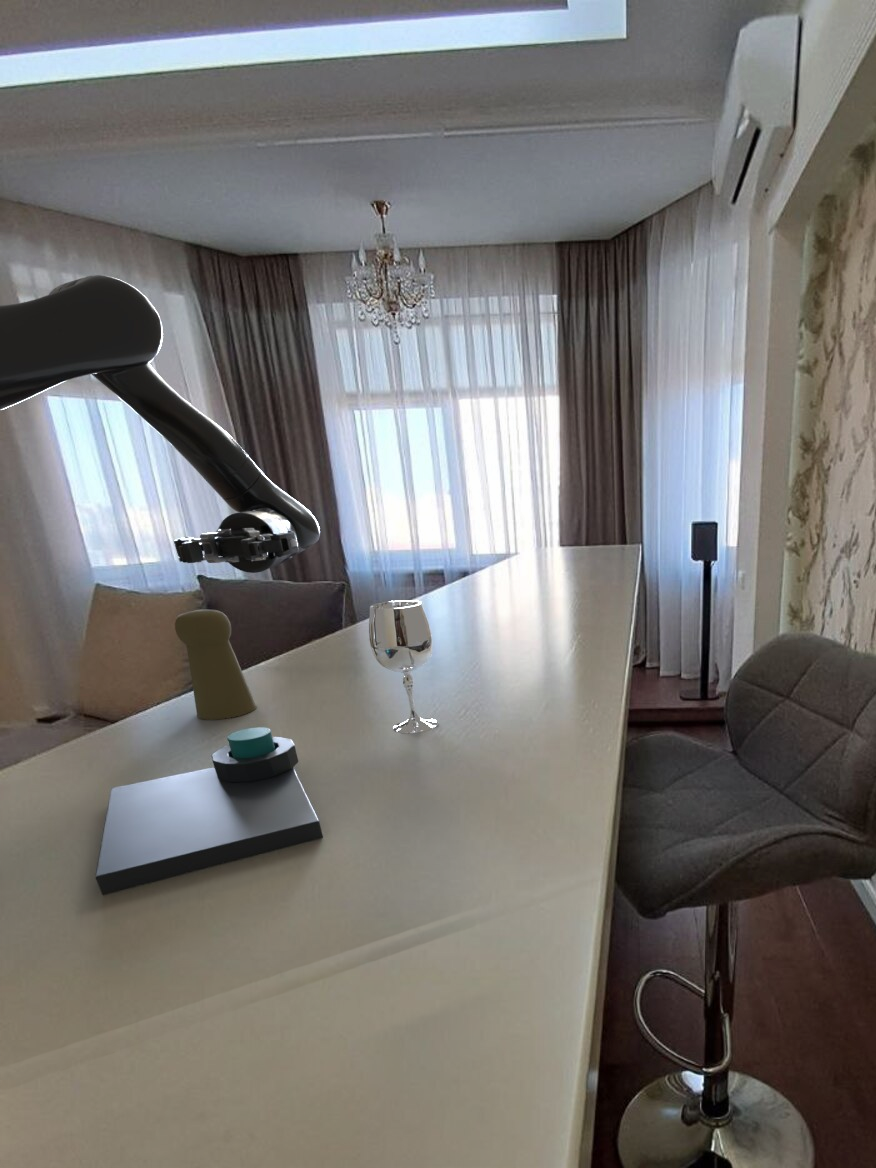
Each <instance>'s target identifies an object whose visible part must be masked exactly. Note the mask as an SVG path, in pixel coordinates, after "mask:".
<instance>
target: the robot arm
mask: <svg viewBox="0 0 876 1168" xmlns="http://www.w3.org/2000/svg"><path fill="white" fill-rule="evenodd" d="M163 331H164V330H163V324H162V320H161V317H160V315H159V313H158V311H157V309H156V308H155V306H154V305H153V303H152V302H151V301H150V300H149V299H148V298H147V296H146V295H144V293H143V292H141V291H140V290H139V289H138V288H136V287H135V286H133V285H131V284H130V283H128V282H126V281H124V280H122V279H119V278H116V277H112V276H109V275H101V274H94V275H87V276H85V277H81V278H78V279H74V280H71V281H68V282H65V283H62V284H59V285H58V286H56V287H55V288H53V289H52V290H51V291H50V292H49V293H48V294H47V295H44V296H41V297H39V298H35V299H32V300H28V301H23V302H19V303H13V304H4V305H0V411H2V410H5V409H7V408H9V407H12V406H14V405H17V404H19V403H21V402H24V401H26V400H28V399H30V398H32V397H34V396H37V395H39V394H41V393H43V392H45V391H47V390H49V389H51V388H53V387H56V386H58V385H60V384H62V383H64V382H67V381H70V380H73V379H77V378H80V377H84V376H90V375H91V376H93V377H94V378H95V379H96V380H98V381H99V382H100V383H101V384H102V385H104V386H105V387H106V388H107V389H108V390H109V391H111V392H112V393H113V394H114V395H116V396H117V397H118V398H119V399H120V400H121V401H122V402H124V403H125V404H126V406H128V407H129V408H130V409H132V410H133V411H134V412H135V413H136V414H137V415H138V416H139V417H141V418H142V420H144V421H145V422H146V423H147V424H148V425H149V426H150V427H151V428H153V429H154V430H155V431H156V432H157V433H158V434H159V435H160V436H162V437H163V438H164V440H166V441H167V442H168V443H169V444H170V445H171V447H173V448H174V449H175V450H176V451H177V452H178V453H179V454H180V455H181V456H182V457H183V458H184V459H185V460H186V461H187V462H188V464H190V465H191V466H192V467H193V468H194V469H195V470H196V472H197V473H198V474H199V476H201V477H202V478H203V479H204V481H206V483H207V484H208V485H209V486H210V487H211V488H212V489H213V490H214V491H215V492H216V494H217V495H218V496H219V497H220V498H221V499H222V500H223V501H224V502H225V503H226V504H227V505H228V506H229V507H230V508H231V509H232V510H233V511H235V513H231V514H229V515H227V516H226V517H224V519H223V520H222V521H221V522H220V523H219V525H218V527H217V530H216V531H215V532H207V533H200V535H199V538H196V537H192V536H188V535H186V536H184V537H181V538H176V539H174V540H173V543H174V547H175V550H176V554H177V557H178V561H179V562H180V563H181V562H182V563H184V564H185V563H187V564H195V563H202V562H203V561H204V562H205V561H206V562H207V563H208V564H219V563H228V564H229V565H230V566H232V567H233V568H235V569H236V570H239V571H241V572H244V573H248V574H249V573H250V574H256V573H262V572H264V571H267V570H269V569H271V568H273V567H276V566H280V565H281V564H283V563H285V562H287V561H289V560H290V559H292V558H294V557H295V556H297V555H299V554H300V553H302V552H303V551H305V550H307V549H309V548H310V547H312V546H313V545H314V544H316V543H317V542H318V541H319V539H320V536H321V531H320V529H321V528H320V526H319V522H318V521H317V519H316V517H315V516H314V515H313V514H312V512H311V511H310V510H309V509H308V508H306V507H305V506H304V505H303V504H302V503H300V501H297V500H296V499H295V498H294V497H292V496H291V495H289V494H288V493H287V492H285V491H284V490H282V488H280V487H279V486H278V485H276V484H275V483H274V482H272V480H270V479H269V478H268V476H266V475H265V473H264V472H263V471H262V470H261V468H259V467H258V465H257V464H256V463H255V461H253V459H252V458H251V457H250V456H249V454H248V453H247V452H246V450H244V449H243V447H242V446H241V445H240V444H239V443H238V442H237V441H236V439H234V438H233V437H232V436H231V435H230V434H229V433H228V432H227V431H226V430H225V429H223V427H221V426H220V425H219V424H217V423H216V422H215V421H214V420H212V418H210V417H208V416H207V415H206V414H204V413H203V412H202V411H201V410H200V409H198V408H197V407H195V406H194V405H193V404H191V403H190V402H189V401H188V400H186V399H185V398H184V397H183V396H181V394H179V393H178V392H177V391H176V390H175V388H173V387H171V386H170V385H169V384H168V382H166V380H165V379H164V378H163V377H162V376H161V375H160V374H159V373H158V372H157V371H156V370H155V369H154V367H153V366H152V365H151V364H150V363H151V362H152V361H153V360H154V359H155V358H156V357H157V356H158V354H159V352H160V350H161V347H162V344H163V338H164V336H163V335H164V333H163ZM262 509H267V511H266V510H265V511H263V510H262ZM261 510H262V511H261ZM268 510H270V511H268Z"/></svg>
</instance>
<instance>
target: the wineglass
mask: <svg viewBox="0 0 876 1168" xmlns="http://www.w3.org/2000/svg"><path fill="white" fill-rule="evenodd" d="M368 615H369V617H368V618H369V619H368V635H369V645H370V648H371V652H372V654H373V657H374V659H375V660H376V661H377V663H379V665H380V666H381V667H383V668H385V669H387V670H388V671H391V672H392V671H393V672H396V673H401V674H403V678H402V684H403V687H404V689H405V691H406V694H407V697H408V703H409V708H410V709H409V710H410V713H409V717H408V719H405V720H402V721H399V722H397V723H396V724H395V725H393V726H392V731H394V732H396V733H399V734H417V733H423V732H426V731H430V730H432V729H434V728H437V727H438V725H439V723H438V721H437V719H433V718H426V717H421V716H419V714H418V713H417V710H416V706H415V700H414V686H415V681H414V678H413V676H412V675H411V672H412V673H413V672H414V671H416V670H419V669H421V668H422V667H423V666H425V665H426V664H428V662H429V661H430V659H431V657H432V654H433V649H434V641H433V640H434V639H433V633H432V629H431V626H430V623H429V620H428V616H427V614H426V611H425V608H424V606H423V604H422V601H419V600H391V601H385V602H379V603H373V604H372V605H370V606H369V614H368Z"/></svg>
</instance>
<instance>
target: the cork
mask: <svg viewBox="0 0 876 1168" xmlns="http://www.w3.org/2000/svg"><path fill="white" fill-rule="evenodd" d="M174 629H175V633H176V636H177V638H178V639H179V640H180V642H182V643H183V644H184V645H186V651H187V652H186V653H187V659H188V665H189V670H190V677H191V683H192V684H191V685H192V690H193V698H194V704H195V712H196V717H197V718H198V719H200V720H206V721H207V720H208V721H215V720H224V719H225V718H226V719H232V718H235V717H236V716H237V717H240V716H243V715H247V714H249V713H251V712H254V711H255V710H256V709H257V703H256V701H255V698H254V696H253V694H252V692H251V689H250V687H249V684H248V682H247V680H246V677H245V675H244V673H243V671H242V668H241V665H240V663H239V661H238V658H237V656H236V653H235V651H234V649H233V647H232V644H231V642H230V638H231V635H232V625H231V621H230V619H229V618H228V616H227V615H226V614H225V613H224V612H223V611H220V610H217V609H206V608H205V609H195V610H191V611H187V612H184V613H181V614H178V616H177V617H176V619H175V622H174ZM231 717H232V718H231ZM226 719H225V720H226Z"/></svg>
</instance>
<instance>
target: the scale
mask: <svg viewBox="0 0 876 1168" xmlns="http://www.w3.org/2000/svg"><path fill="white" fill-rule="evenodd" d="M272 738H273V742H274V746H275V750H274V751H273V752H270V753H268V754H265V755H261V756H257V757H252V758H240V759H236V758H233V756H232V753H231V749H230V746H229V744H228V745H225V746H222V747H220V748H219V749H218V750H216V751H215V752H213V753H212V754H211V760H212V764H213V767H207V768H204V769H199V770H198V769H197V770H193V771H189V772H183V773H178V774H174V775H169V776H164V777H159V778H154V779H150V780H145V781H140V782H139V781H138V782H134V783H130V784H125V785H120V786H115V787H111V788H110V792H109V793H110V794H109V798H108V804H107V808H106V809H107V810H106V816H105V822H104V826H103V833H102V837H101V843H100V847H99V854H98V860H97V865H96V871H95V876H94V878H95V882H96V883H97V885H98V888H99V890H100V893H101V895H102V896H106V895H110V894H113V893H117V892H121V891H124V890H125V891H126V890H129V889H132V888H136V887H141V886H144V885H148V884H152V883H155V882H159V881H163V880H168V879H170V878H175V877H178V876H179V877H180V876H182V875H186V874H190V873H194V872H198V871H201V870H205V869H209V868H214V867H216V866H221V865H224V864H228V863H232V862H236V861H240V860H243V859H247V858H252V857H255V856H259V855H263V854H266V853H271V852H274V851H278V850H282V849H285V848H290V847H293V846H297V845H301V844H304V843H308V842H313V841H315V840H320V839H323V838H324V835H323V831H322V826H321V823H320V821H319V820H320V819H319V817H318V816H317V813H316V812H315V809H314V807H313V805H312V804H311V801H310V799H309V797H308V795H307V792H306V791H305V789H304V786H303V785H302V782H301V779H300V778H299V776H298V773H297V772H296V770H295V768H294V767H295V766H296V765H297V764H298V763H299V757H298V753H297V750H296V746H295V743H294V741H293V739H291V738H287V737H283V736H272Z"/></svg>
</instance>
